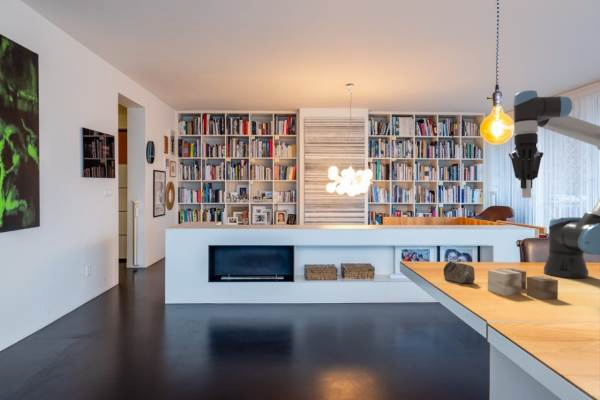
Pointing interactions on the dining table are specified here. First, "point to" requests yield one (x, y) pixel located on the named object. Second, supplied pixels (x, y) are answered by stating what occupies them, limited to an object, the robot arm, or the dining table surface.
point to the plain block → (504, 282)
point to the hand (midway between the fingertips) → (526, 197)
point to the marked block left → (542, 288)
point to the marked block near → (523, 280)
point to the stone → (459, 272)
